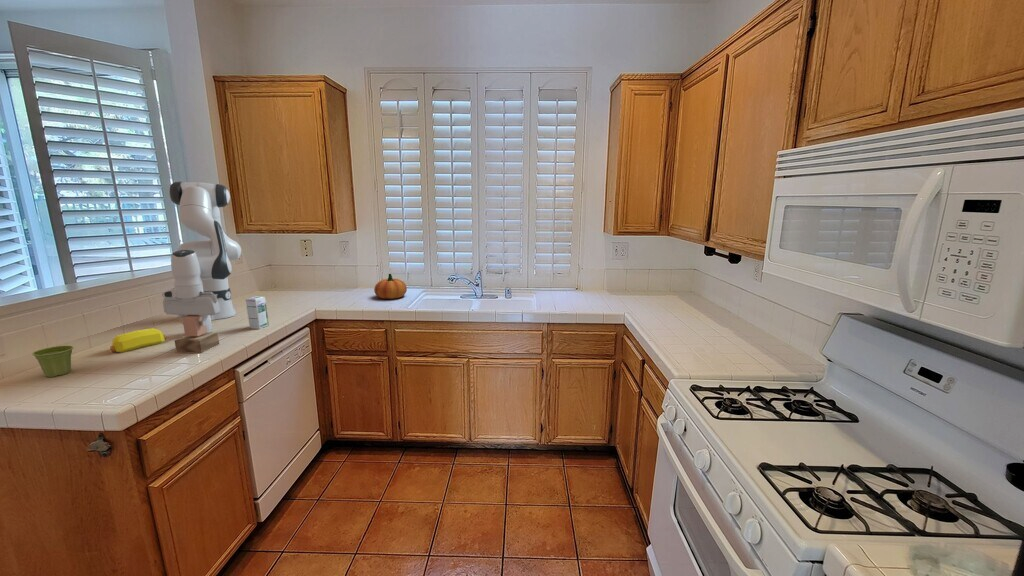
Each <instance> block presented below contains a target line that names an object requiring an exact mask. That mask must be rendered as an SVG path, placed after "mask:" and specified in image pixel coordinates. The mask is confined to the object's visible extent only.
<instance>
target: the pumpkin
mask: <svg viewBox="0 0 1024 576" xmlns="http://www.w3.org/2000/svg"><path fill="white" fill-rule="evenodd" d="M407 290H408V286H407V284H406V283H405V282H404V281H403V280H401V279H399V278H393V276H392V273H388V278H383V279H381V280H379V281H378V282H377V283H376V284H375V286H374V289H373V292H374V294H375V295H376V297H378V298H380V299H383V300H393V299H399V298H402V297H404V296H405V295H406V293H407Z"/></svg>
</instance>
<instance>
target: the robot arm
mask: <svg viewBox="0 0 1024 576" xmlns="http://www.w3.org/2000/svg"><path fill="white" fill-rule="evenodd" d="M168 196H169V199H170V200H171V202H172V203H173V204H175V205H176V206H179V207H178V209H179V211H178V217H179V220H180V221H179V222H180V223H181V224H182V226H183V227H185V228H186V229H188V230H190V231H193V232H194V233H196V234H199V235H201V236H204V237H207V238H209V239H210V240H195V241H187V242H184V243H181V244H180V245H179V246H178V248H177V250H176V251H174V252H172V253H171V258H170V268H171V274H172V277H173V279H174V283H173V286H174V288H171V289H168V290H165V291H163V292H162V293H161V294H162V298H163V299H162V305H163V306H162V307H163V310H164V311H163V312H164V313H165V314H166V315H173V316H174V315H176V316H178V318H179V319H180V320H181V321H182V322H183V319H182V317H183V316H186V315H201V318H202V320H201V321H199V323H200V326H204V325H206V320H207V318H208V315H210V317H211V321H214V320H215V321H216V320H221V319H226V318H230V317H234V316H237V312H236V310H235V307H234V305H233V301H232V291H231V288H230V284H229V278H228V277H229V276H230V275H232V271H233V270H232V269H233V267H232V263H231V261H236V260H238V259H239V258H240V257H241V255H242V247H241V245H240V244H239V242H237V241H235V240H233V239H231V237H229V236H228V235H227V234H226V232H225V231H224V228H223V225H222V219H221V211H220V208H224V207H226V206H228V205H229V202H230V200H231V194H230V191H229V190H228V188H227V186H225V185H223V184H219V183H209V182H202V181H199V182H197V181H194V182H193V181H192V182H191V181H190V182H189V181H186V182H185V181H174V182H172V183H171V184H170V185H169V189H168Z"/></svg>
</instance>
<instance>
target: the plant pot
mask: <svg viewBox="0 0 1024 576" xmlns="http://www.w3.org/2000/svg"><path fill="white" fill-rule="evenodd" d="M73 350H74V346H73V345H57V346H50V347H45V348H41V349H38V350H35V351H34V352H32V353H31V355H32V356H34V357H35V359H36V360H37V362H38V363H39V366H40V368H41V370H42V372H43V374H44V377H49V378H51V377H52V378H53V377H56V376H64V375H67V374H69V373H70V372H71V371H72V354H73Z"/></svg>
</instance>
